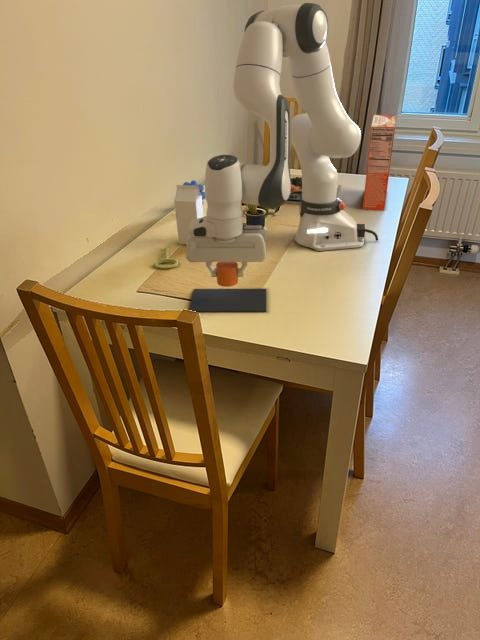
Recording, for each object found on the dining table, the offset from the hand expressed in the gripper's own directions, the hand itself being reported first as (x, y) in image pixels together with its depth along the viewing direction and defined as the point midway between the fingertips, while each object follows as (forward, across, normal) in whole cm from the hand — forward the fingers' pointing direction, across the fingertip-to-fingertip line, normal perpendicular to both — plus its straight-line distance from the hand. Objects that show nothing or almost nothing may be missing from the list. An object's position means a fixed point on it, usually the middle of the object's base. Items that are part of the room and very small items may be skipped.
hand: (227, 275), depth 130 cm
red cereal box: (+7, -54, -81) cm, 98 cm away
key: (+8, +21, -25) cm, 33 cm away
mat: (+7, 0, 0) cm, 7 cm away
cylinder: (+2, 0, 0) cm, 2 cm away
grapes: (+7, +18, -72) cm, 75 cm away
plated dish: (+7, -22, -92) cm, 95 cm away
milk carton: (+8, +15, -41) cm, 44 cm away
